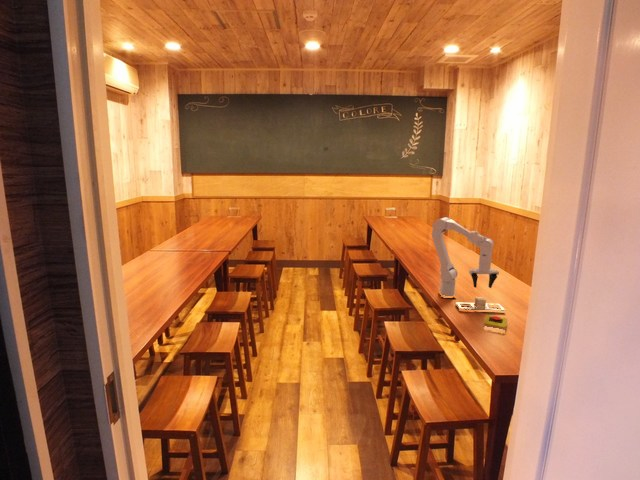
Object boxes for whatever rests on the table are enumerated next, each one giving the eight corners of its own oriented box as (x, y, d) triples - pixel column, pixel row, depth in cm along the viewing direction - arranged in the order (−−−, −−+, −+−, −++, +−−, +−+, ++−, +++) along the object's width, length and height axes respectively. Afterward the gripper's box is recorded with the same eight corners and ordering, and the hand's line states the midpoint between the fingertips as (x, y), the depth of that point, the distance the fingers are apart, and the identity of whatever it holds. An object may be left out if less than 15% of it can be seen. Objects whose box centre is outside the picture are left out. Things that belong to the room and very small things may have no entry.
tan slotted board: (455, 305, 206) (455, 302, 206) (498, 307, 204) (499, 303, 204) (459, 311, 198) (460, 308, 198) (504, 313, 197) (505, 309, 196)
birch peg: (474, 308, 203) (475, 297, 202) (482, 308, 203) (483, 297, 202) (476, 311, 200) (477, 299, 198) (484, 311, 199) (486, 300, 198)
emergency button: (508, 314, 185) (506, 326, 172) (507, 323, 186) (504, 336, 173) (487, 311, 190) (483, 322, 177) (486, 319, 191) (482, 331, 178)
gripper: (472, 263, 201) (470, 289, 203) (502, 264, 200) (499, 290, 202) (468, 260, 207) (466, 284, 210) (497, 261, 206) (494, 285, 209)
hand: (482, 287), depth 207 cm, fingers open, 7 cm apart
